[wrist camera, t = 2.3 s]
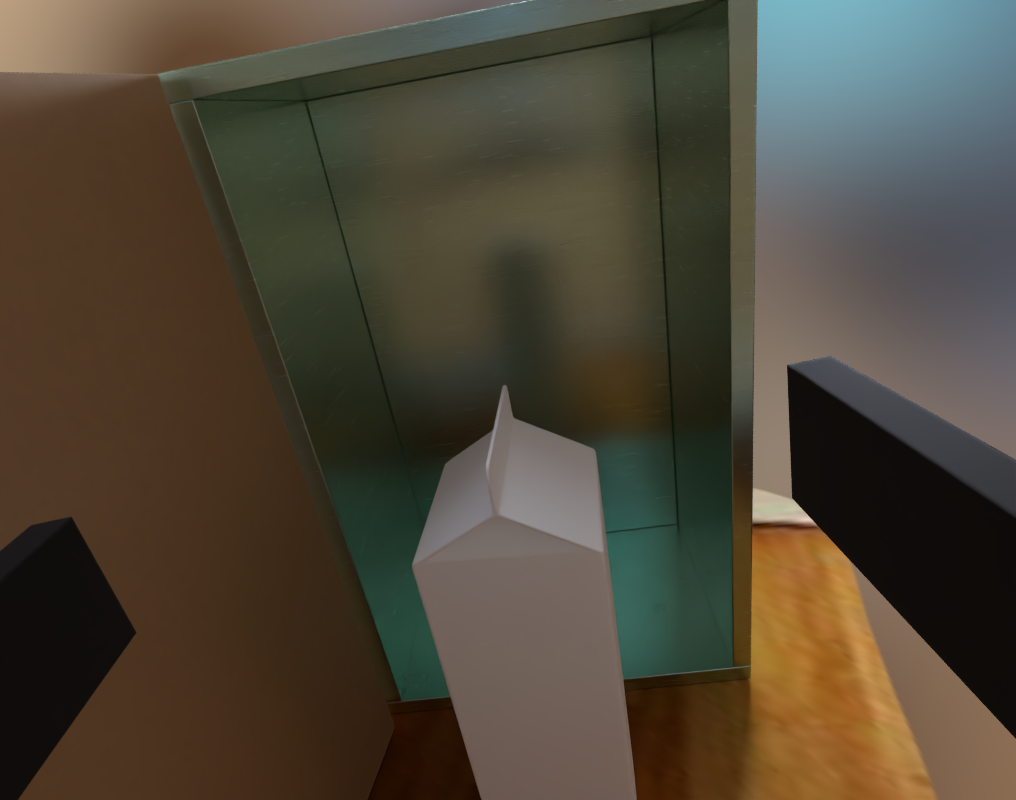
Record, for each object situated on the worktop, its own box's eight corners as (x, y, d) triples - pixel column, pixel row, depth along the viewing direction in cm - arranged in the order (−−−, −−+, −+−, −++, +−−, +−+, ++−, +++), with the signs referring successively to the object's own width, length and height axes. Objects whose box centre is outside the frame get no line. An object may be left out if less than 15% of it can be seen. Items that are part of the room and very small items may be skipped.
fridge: (751, 678, 35) (758, -45, 20) (389, 714, 36) (155, 73, 22) (688, 524, 47) (666, 12, 33) (422, 557, 49) (288, 84, 34)
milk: (509, 898, 27) (377, 483, 17) (519, 764, 32) (421, 390, 23) (650, 899, 26) (592, 461, 17) (636, 761, 31) (585, 370, 22)
